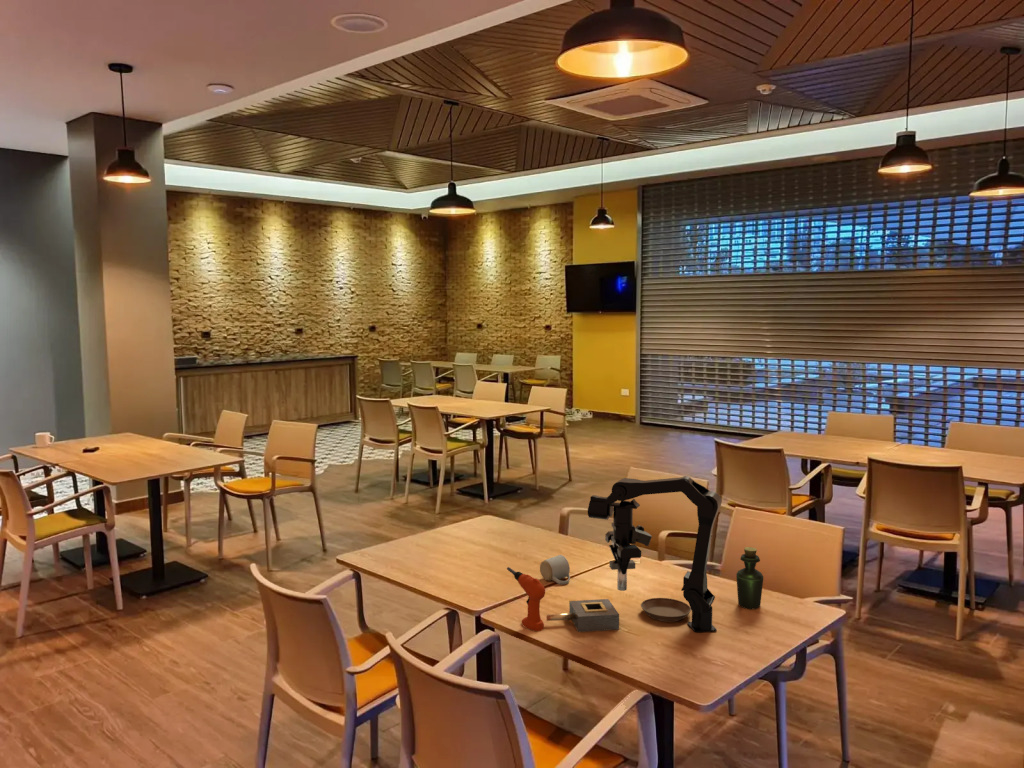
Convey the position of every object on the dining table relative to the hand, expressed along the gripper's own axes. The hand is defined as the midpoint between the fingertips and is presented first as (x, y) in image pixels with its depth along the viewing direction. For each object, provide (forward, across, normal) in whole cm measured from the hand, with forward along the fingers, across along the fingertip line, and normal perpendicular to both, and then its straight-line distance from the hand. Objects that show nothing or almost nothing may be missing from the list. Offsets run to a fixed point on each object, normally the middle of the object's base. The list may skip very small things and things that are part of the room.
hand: (622, 572), depth 221 cm
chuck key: (+5, 0, 0) cm, 5 cm away
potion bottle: (+13, +2, -41) cm, 43 cm away
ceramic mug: (+14, +32, +14) cm, 38 cm away
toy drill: (+13, -1, +30) cm, 33 cm away
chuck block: (+13, -5, +14) cm, 20 cm away
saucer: (+14, -2, -13) cm, 19 cm away
